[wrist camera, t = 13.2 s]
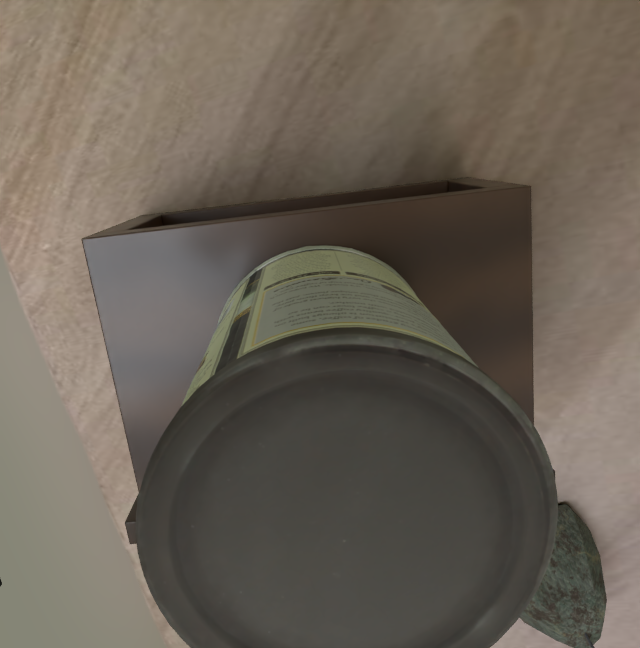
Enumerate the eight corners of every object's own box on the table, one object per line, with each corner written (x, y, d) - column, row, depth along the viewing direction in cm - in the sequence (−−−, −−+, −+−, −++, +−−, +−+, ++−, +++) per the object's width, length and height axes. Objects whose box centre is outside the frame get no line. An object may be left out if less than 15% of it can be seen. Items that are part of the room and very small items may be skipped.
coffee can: (436, 438, 29) (556, 684, 16) (229, 459, 29) (171, 724, 16) (429, 231, 26) (567, 314, 13) (199, 253, 26) (95, 360, 13)
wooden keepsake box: (139, 215, 36) (58, 247, 24) (468, 177, 36) (555, 188, 24) (180, 425, 39) (129, 544, 27) (477, 390, 40) (555, 494, 28)
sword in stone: (468, 529, 42) (532, 668, 31) (573, 490, 42) (677, 617, 30) (510, 632, 45) (583, 796, 34) (609, 596, 45) (717, 751, 33)
